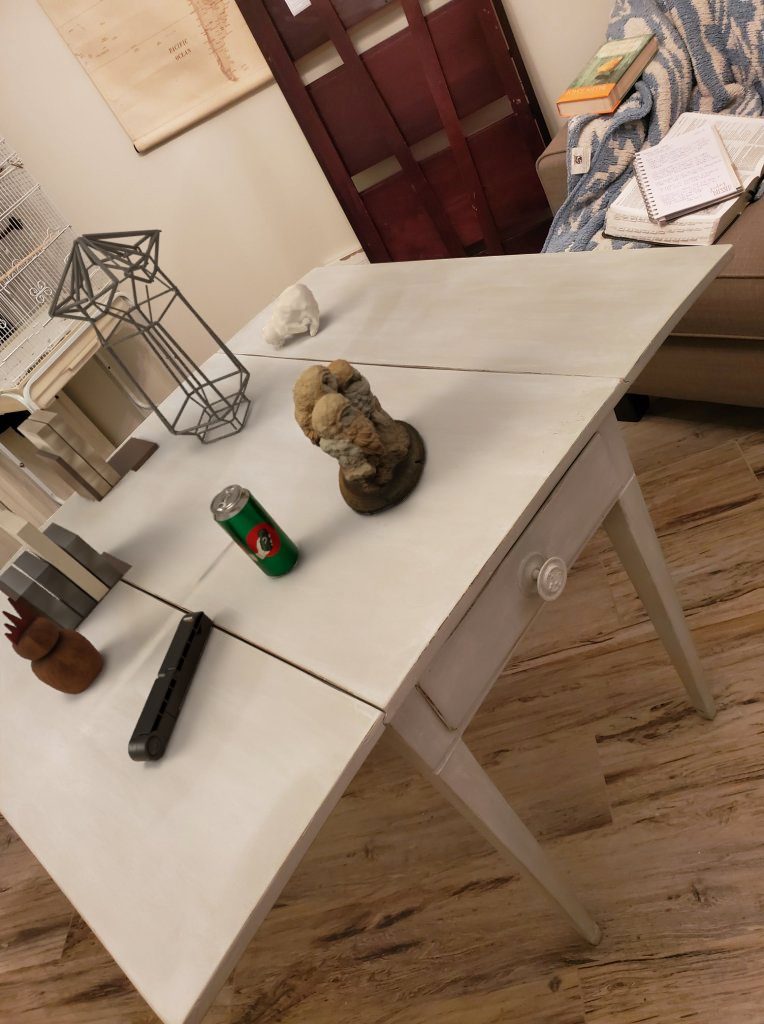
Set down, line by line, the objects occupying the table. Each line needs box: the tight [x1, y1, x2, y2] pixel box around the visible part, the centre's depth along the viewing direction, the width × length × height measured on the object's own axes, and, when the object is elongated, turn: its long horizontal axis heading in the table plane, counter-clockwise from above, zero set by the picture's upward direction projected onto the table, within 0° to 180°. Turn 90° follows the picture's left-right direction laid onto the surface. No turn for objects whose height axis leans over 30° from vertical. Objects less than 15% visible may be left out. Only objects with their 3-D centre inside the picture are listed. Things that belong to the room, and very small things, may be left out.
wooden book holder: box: [16, 408, 160, 503], centre depth 122 cm, size 14×10×16 cm
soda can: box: [209, 484, 300, 578], centre depth 84 cm, size 5×5×12 cm
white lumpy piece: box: [261, 282, 320, 348], centre depth 127 cm, size 6×8×12 cm
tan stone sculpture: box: [292, 358, 426, 515], centre depth 86 cm, size 18×12×17 cm, turn 5°
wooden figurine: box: [2, 597, 105, 695], centre depth 86 cm, size 7×6×15 cm
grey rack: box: [0, 522, 133, 631], centre depth 101 cm, size 13×10×10 cm
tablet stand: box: [127, 610, 214, 763], centre depth 80 cm, size 18×3×3 cm, turn 168°
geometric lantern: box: [47, 228, 252, 445], centre depth 110 cm, size 16×16×35 cm
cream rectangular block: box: [0, 509, 109, 602], centre depth 99 cm, size 2×9×15 cm, turn 50°
